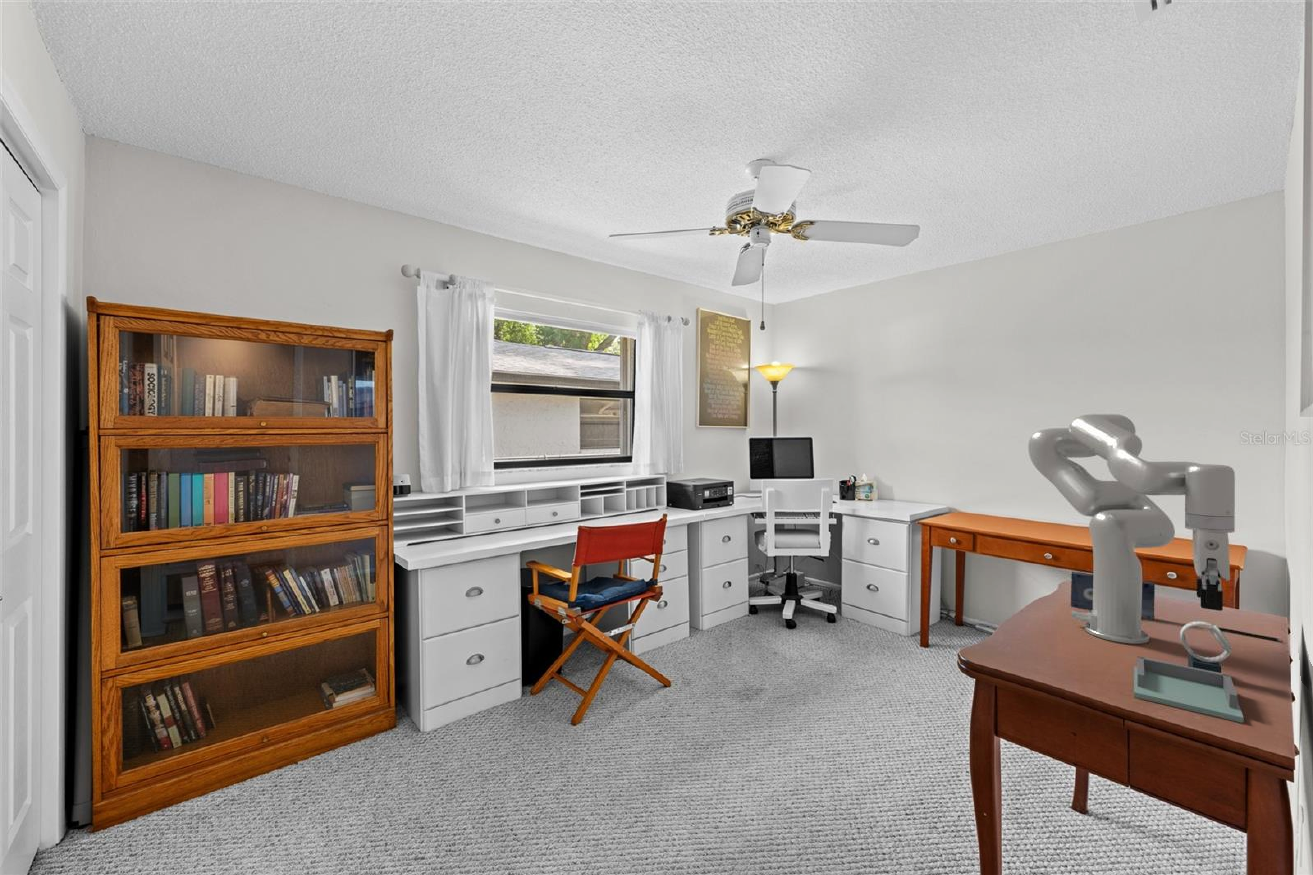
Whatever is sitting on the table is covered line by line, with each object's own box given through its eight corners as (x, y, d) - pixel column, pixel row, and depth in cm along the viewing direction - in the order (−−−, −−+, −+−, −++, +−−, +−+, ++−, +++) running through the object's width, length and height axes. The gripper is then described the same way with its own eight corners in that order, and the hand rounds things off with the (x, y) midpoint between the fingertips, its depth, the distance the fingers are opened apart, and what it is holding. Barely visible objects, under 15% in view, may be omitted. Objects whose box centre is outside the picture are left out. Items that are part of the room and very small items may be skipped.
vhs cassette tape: (1154, 618, 154) (1155, 582, 154) (1154, 621, 152) (1155, 584, 152) (1071, 604, 166) (1071, 570, 166) (1070, 606, 164) (1070, 573, 164)
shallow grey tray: (1134, 697, 111) (1134, 679, 111) (1134, 670, 122) (1134, 654, 122) (1243, 723, 101) (1244, 704, 101) (1232, 692, 113) (1233, 674, 113)
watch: (1234, 684, 116) (1235, 631, 116) (1181, 674, 121) (1182, 623, 120) (1228, 674, 121) (1229, 623, 120) (1177, 664, 125) (1178, 615, 125)
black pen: (1282, 642, 138) (1282, 638, 138) (1282, 644, 137) (1282, 640, 137) (1212, 629, 147) (1212, 625, 147) (1212, 630, 146) (1212, 626, 146)
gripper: (1240, 530, 111) (1240, 617, 111) (1229, 519, 124) (1229, 597, 124) (1187, 526, 115) (1187, 610, 116) (1182, 516, 129) (1182, 591, 129)
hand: (1209, 603), depth 120 cm, fingers open, 9 cm apart
